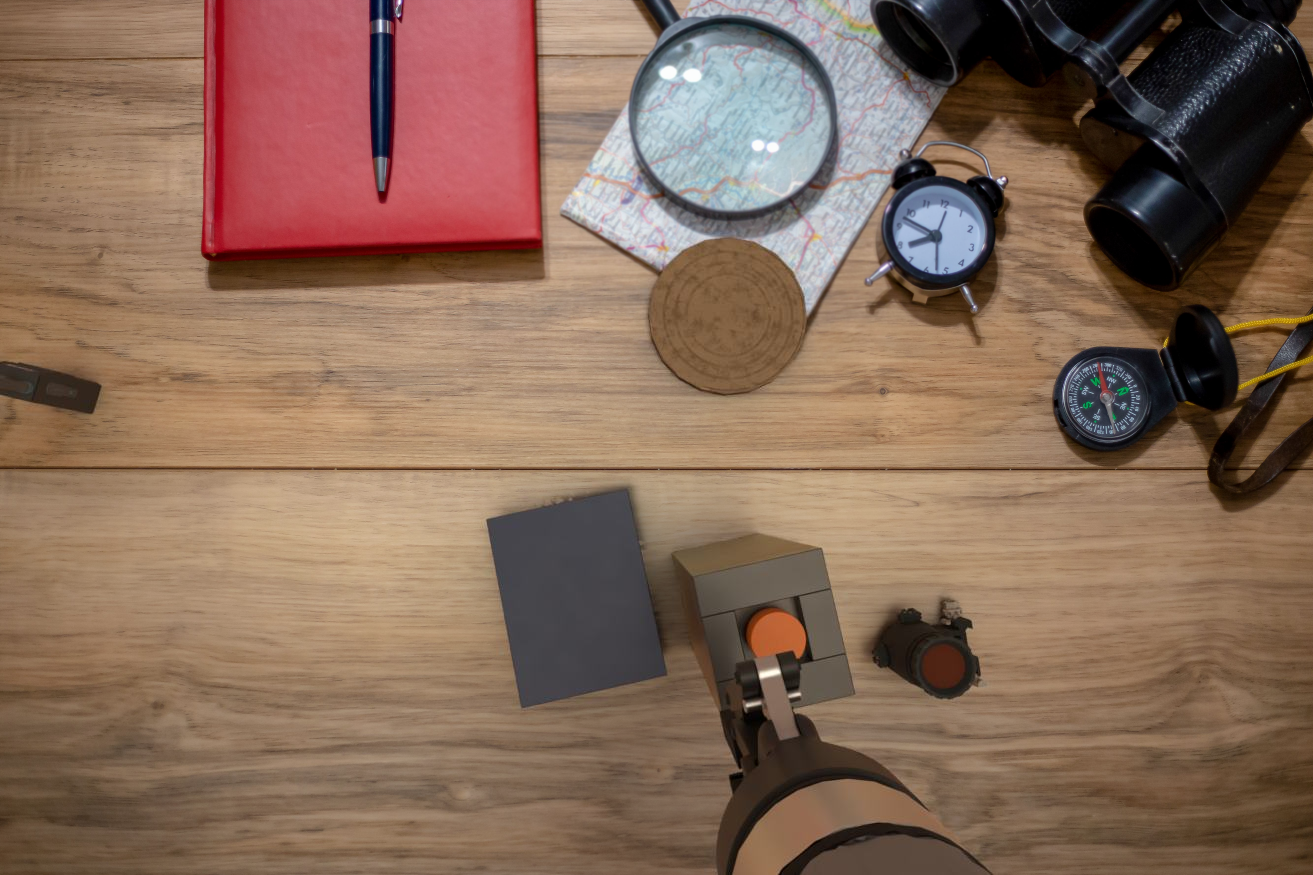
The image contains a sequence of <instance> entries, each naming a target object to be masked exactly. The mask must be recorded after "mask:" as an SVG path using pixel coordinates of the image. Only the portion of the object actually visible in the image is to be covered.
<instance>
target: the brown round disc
mask: <svg viewBox="0 0 1313 875" xmlns="http://www.w3.org/2000/svg"><path fill="white" fill-rule="evenodd" d="M650 298H651V299H650V303H649V308H648V309H649V310H648V314H647V315H648V323H649V331H650V338H651V342H652V344H653V346H654V348H655V350H656V352H657V355H658V357H659V359H660V360H661V363H662V364H663V365H664V366H665V367H666V368H667V369H668V370H669V371H670V372H671V373H672V374H673V375H674V376H675V377H676V378H677V380H679V381H681V382H683V383H684V384H686V385H688V386H689V387H692V388H693V389H695V390H697V391H699V392H703V393H707V394H713V395H716V396H717V395H718V396H724V397H726V396H733V395H742V394H743V395H744V394H749V393H751V392H753V391H756V390H757V389H760V388H763V387H764V386H766V385H768V384H770V383H772V382H773V381H774V380H775V379H776V378H778V377H779V375H780V374H782V373H783V372H784V371H785V370H786V369H787V368H788V367H789V366H790V365H791V364H792V363H793V361H794V359H795V358H796V356H797V353H798V351H799V350H800V348H801V346H802V344H803V343H804V338H805V332H806V326H807V320H808V314H807V306H806V300H805V293H804V291H803V289H802V287H801V285H800V283H799V281H798V278H797V277H796V274H795V273H794V271H793V270H792V269H791V267H789V265H787V264H786V262H785V261H784V260H783V259H782V258H781V257H780V256H779V255H778V254H777V253H776V252H774V251H772V250H770V249H769V248H767V247H765V246H763V245H761V244H760V243H758V242H755V241H753V240H749V239H743V238H737V237H732V236H725V237H718V238H717V237H716V238H709V239H704V240H702V241H700V242H698V243H695V244H693V245H690V246H689V247H687V248H684V249H683V250H681V251H680V252H679V253H678V254H676V256H675V257H673V259H672V260H671V261H669V263H667V264H666V265H665V266H664V268H663V270H662V272H661V273H660V275H659V277H658V278H657V280H656V282H655V284H654V286H653V288H652V293H651V297H650Z"/></svg>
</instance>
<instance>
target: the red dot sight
mask: <svg viewBox="0 0 1313 875" xmlns="http://www.w3.org/2000/svg"><path fill="white" fill-rule="evenodd" d="M942 604H943V609H942V615H940V616H939V621H940V623H941V624H929V623H928V622H926V621H925V620H922V619H923V616H922V614H923V613H922V612H921V611H919V610H917V609H916V608H913V607H909V608H907V609H906V608H903V609H901V611H900V612H899V613H897V615H896V617H897V622H895V623H894V624H892V625H890V626H888V627H887V628H886V629H885V630H884V632H883V633H882V634H881V635H882V636H881V637H880V643H875V645H874V646H873V649H872V650H871V655H874V656H872V661H873V663H874V664H875V665H877V667H878V668H880V669H883V668H884V669H887V668H888V669H890V670H891V671H892V672H894V673H895V674H896V675H897V676H899V677H900V678H902V679H903V680H905V681H906V682H907V683H909V684H911V685H914V686H916V687H918V688H920V689H921V690H923V692H924V693H926V694H928V695H929V696H930V697H935V698H936V699H938V700H943V699H945V700H948V701H949V700H953V699H956V698H960V697H962V696H963V695H964V694H966V692H967V691H968V692H969V690H970V689H971V687H976V688H982V687H983V688H984V687H988V686H989V683H988V682H987V681H986V680H984V679H982V678H980V677H981V676H982V672H981V666H980V659H979V656H977V655H975V654H973V652H972V648H971V647H970V646H969V642H968V636H967V629H971V630H974V627H973V620H972V619H970V618H966V617H963V616H961V615H962V614H963V610H962V607H960V601H959V600H957V599H949V600H945V601H943V602H942Z"/></svg>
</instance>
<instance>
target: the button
mask: <svg viewBox="0 0 1313 875" xmlns="http://www.w3.org/2000/svg"><path fill="white" fill-rule="evenodd" d="M746 638H747V643H748V645H749V647H750V649H751V651H752V652H753V653H754V654H755V656H756V657H757V658H760V657H764V656H769V655H773V654H775V655H776V654H777V653H782V652H786V651H791V650H793V651H794V653H795V655H796V658H800V657H801V656H802V654H803V652H804V649H805V646H806V634H805V631H804V628H803V626H802V625H801V623H800V622H799V621H798V620H797V619H796V618H795V617H794V616H792V615H791V614H789V613H788V612H786V611H785V610H782V609H779V608H766V609H763V610H761V611H759V612H757V613H756V614H755V615H754V616H753V617H752V618H751V620H750V622H749V624H748V626H747V631H746Z"/></svg>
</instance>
